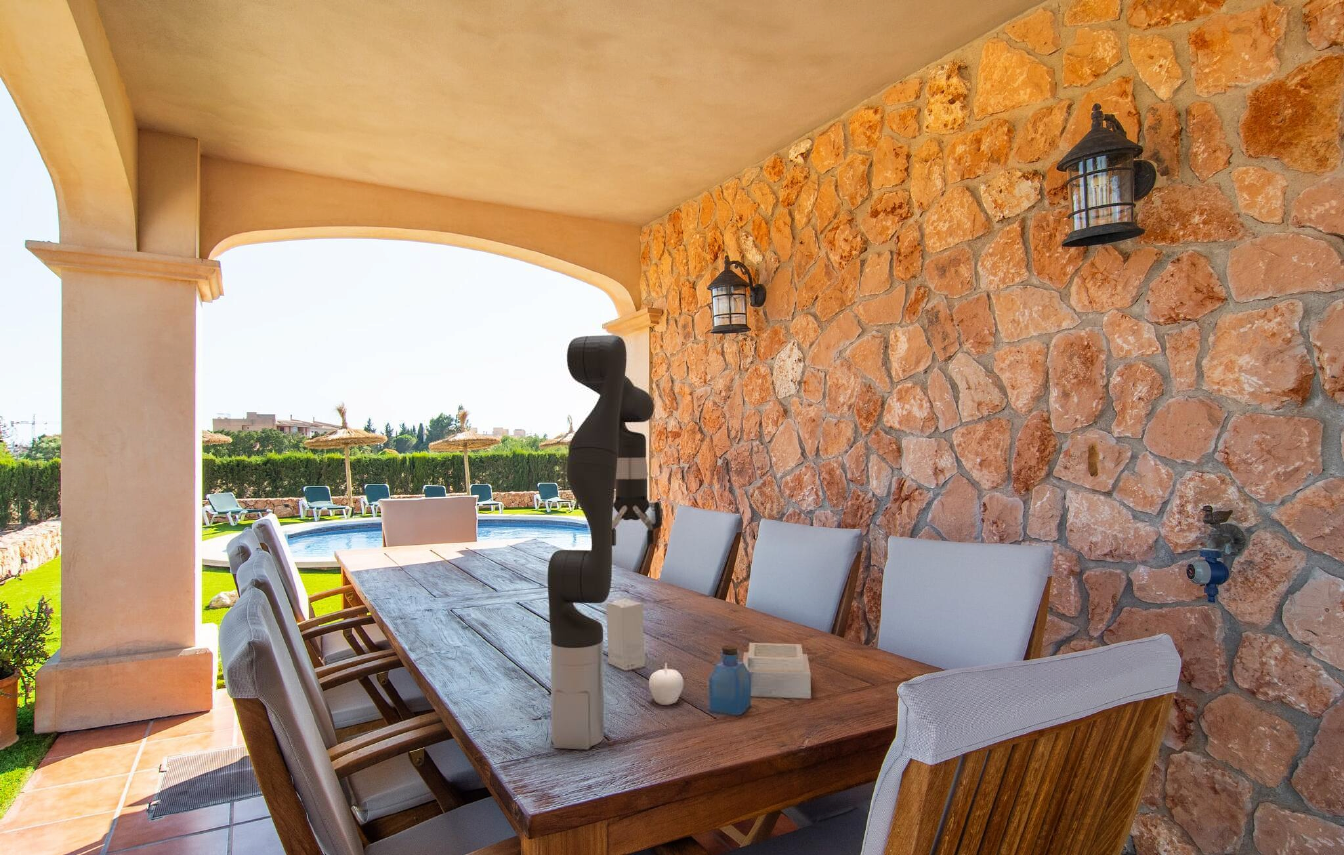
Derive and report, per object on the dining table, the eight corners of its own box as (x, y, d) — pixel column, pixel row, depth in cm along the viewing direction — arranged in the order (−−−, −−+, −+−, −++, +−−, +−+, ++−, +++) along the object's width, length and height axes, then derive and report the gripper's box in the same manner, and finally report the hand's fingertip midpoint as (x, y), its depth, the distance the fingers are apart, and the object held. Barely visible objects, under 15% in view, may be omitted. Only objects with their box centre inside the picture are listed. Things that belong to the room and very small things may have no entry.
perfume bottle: (709, 710, 141) (708, 648, 141) (722, 700, 147) (721, 641, 147) (738, 716, 138) (738, 653, 139) (750, 705, 144) (750, 644, 144)
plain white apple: (646, 707, 143) (646, 666, 143) (652, 695, 150) (651, 656, 150) (681, 709, 142) (681, 668, 142) (685, 696, 149) (685, 657, 149)
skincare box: (645, 667, 169) (645, 603, 169) (623, 672, 166) (622, 606, 166) (627, 658, 176) (627, 597, 176) (605, 663, 173) (605, 600, 173)
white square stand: (810, 698, 147) (810, 661, 147) (741, 696, 149) (741, 659, 149) (807, 676, 161) (806, 642, 161) (744, 674, 163) (743, 641, 163)
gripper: (598, 477, 168) (598, 547, 168) (659, 477, 167) (659, 548, 166) (605, 476, 176) (605, 543, 175) (663, 476, 174) (663, 544, 174)
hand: (631, 545), depth 171 cm, fingers open, 8 cm apart
